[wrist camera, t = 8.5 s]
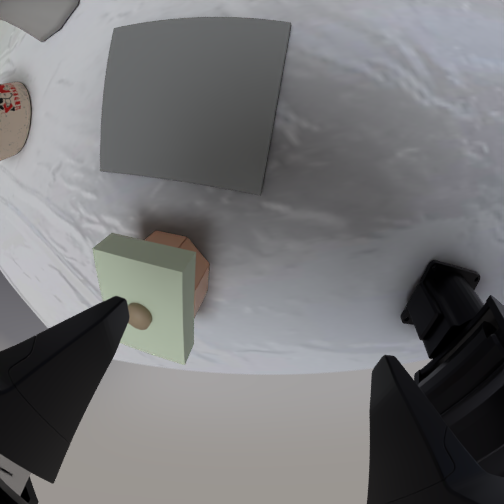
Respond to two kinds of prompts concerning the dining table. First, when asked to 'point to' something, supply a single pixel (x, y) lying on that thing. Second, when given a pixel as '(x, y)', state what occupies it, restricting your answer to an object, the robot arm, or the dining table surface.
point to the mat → (193, 100)
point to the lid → (150, 293)
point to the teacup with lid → (13, 118)
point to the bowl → (200, 266)
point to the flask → (37, 15)
